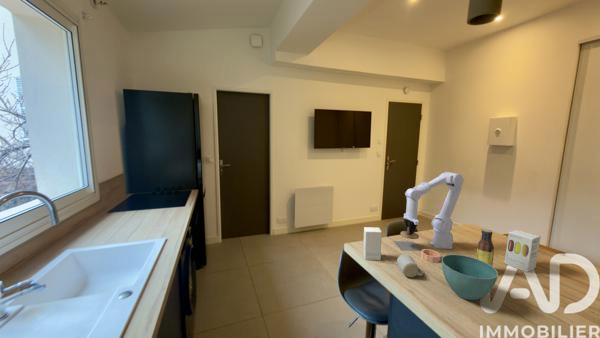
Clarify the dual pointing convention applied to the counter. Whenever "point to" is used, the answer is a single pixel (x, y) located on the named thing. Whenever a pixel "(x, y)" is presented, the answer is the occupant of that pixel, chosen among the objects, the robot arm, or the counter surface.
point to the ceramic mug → (408, 266)
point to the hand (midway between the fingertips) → (410, 232)
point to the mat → (407, 246)
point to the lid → (407, 235)
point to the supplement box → (522, 250)
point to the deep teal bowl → (468, 276)
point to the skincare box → (372, 243)
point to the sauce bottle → (486, 247)
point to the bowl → (430, 255)
